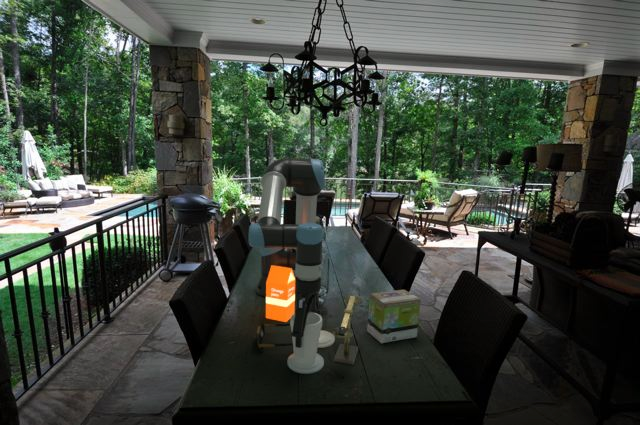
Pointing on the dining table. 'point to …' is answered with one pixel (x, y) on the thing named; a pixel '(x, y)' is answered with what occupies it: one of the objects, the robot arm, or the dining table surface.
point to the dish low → (305, 368)
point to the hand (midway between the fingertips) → (306, 344)
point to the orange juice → (280, 293)
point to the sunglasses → (262, 332)
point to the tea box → (393, 315)
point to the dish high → (325, 339)
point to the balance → (346, 333)
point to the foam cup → (309, 337)
